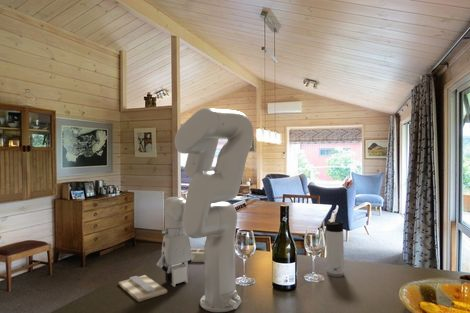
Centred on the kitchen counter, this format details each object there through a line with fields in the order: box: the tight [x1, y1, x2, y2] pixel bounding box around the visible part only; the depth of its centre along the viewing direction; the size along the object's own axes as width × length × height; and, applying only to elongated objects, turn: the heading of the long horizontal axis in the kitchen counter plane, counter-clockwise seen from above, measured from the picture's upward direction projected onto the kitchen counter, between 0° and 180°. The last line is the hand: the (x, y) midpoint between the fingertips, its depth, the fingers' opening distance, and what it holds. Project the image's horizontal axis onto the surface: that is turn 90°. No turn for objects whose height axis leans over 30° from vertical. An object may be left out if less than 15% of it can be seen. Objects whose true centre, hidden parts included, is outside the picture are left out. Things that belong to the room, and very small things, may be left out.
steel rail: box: [129, 275, 156, 294], centre depth 114 cm, size 16×2×1 cm, turn 39°
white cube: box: [170, 263, 189, 287], centre depth 119 cm, size 6×6×6 cm
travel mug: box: [325, 221, 345, 278], centre depth 124 cm, size 6×7×20 cm
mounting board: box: [118, 274, 168, 303], centre depth 114 cm, size 18×10×1 cm, turn 39°
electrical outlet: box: [191, 248, 204, 263], centre depth 145 cm, size 7×4×18 cm
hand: (176, 280), depth 119 cm, fingers closed on white cube, 5 cm apart
